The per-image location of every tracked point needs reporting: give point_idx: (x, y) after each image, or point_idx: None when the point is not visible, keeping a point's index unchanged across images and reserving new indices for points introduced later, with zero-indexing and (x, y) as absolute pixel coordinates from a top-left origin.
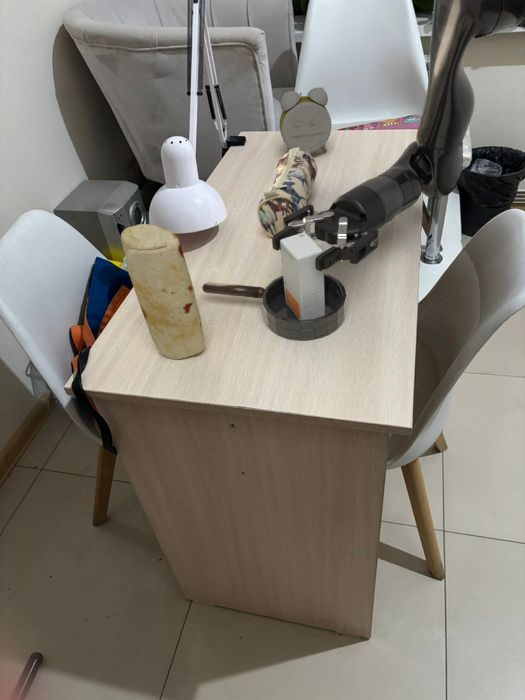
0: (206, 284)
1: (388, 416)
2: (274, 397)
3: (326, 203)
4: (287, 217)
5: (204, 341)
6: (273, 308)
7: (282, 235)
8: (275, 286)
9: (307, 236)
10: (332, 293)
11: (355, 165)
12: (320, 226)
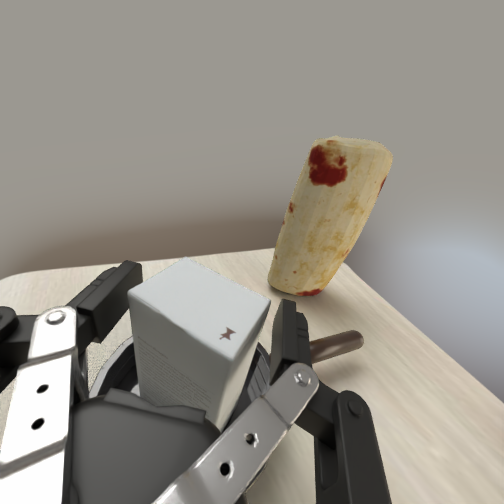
0: (354, 331)
1: (18, 278)
2: (166, 267)
3: None
4: (354, 409)
5: (271, 279)
6: (248, 383)
7: (281, 318)
8: None
9: (207, 337)
10: None
11: None
12: (186, 422)
